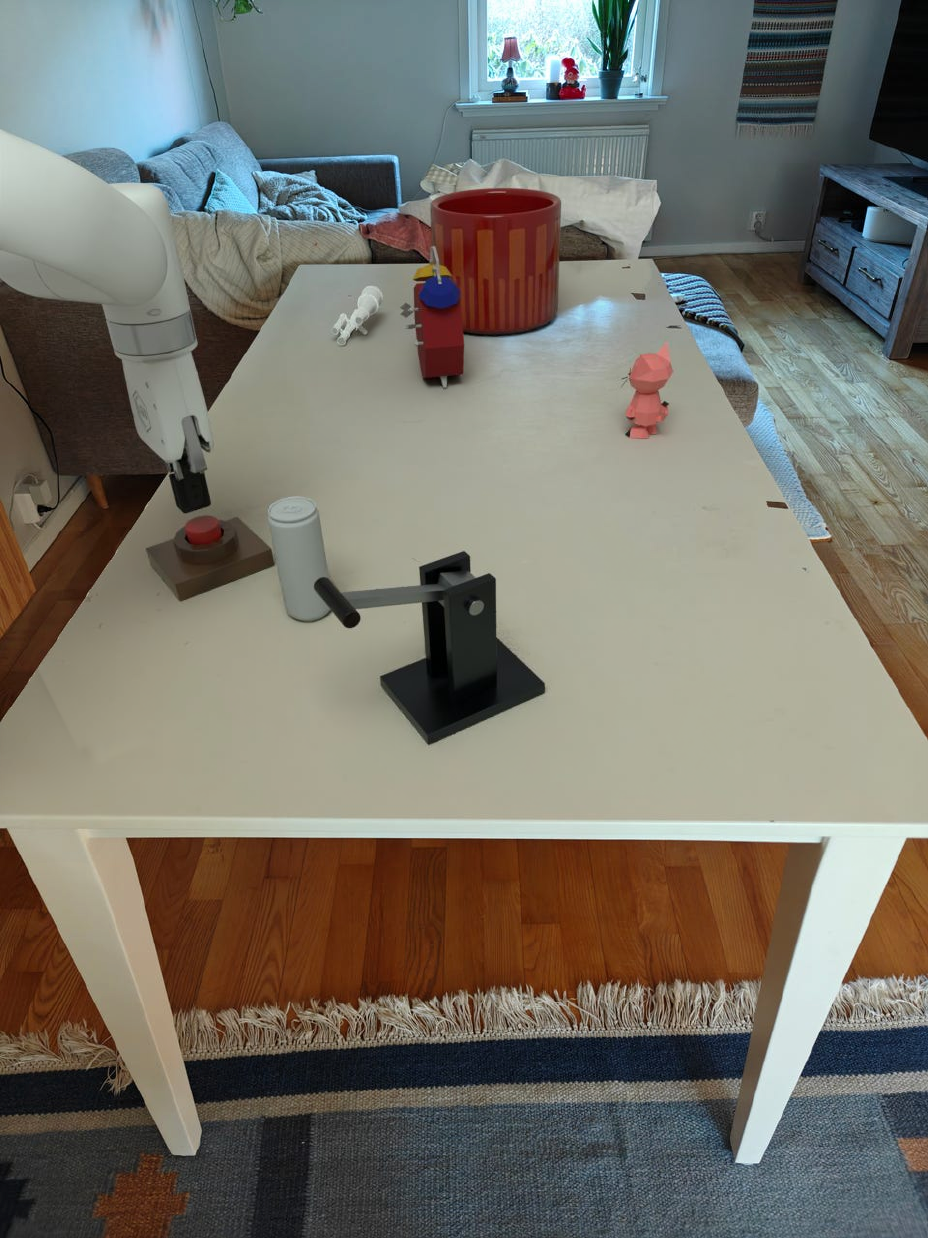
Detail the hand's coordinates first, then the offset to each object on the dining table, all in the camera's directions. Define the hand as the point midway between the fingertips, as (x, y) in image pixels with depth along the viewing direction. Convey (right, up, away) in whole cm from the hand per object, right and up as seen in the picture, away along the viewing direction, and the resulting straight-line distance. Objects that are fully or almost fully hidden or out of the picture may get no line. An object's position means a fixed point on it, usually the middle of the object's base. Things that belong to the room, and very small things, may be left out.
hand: (194, 506), depth 90 cm
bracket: (+28, -18, -13) cm, 36 cm away
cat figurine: (+54, +14, +29) cm, 62 cm away
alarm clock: (+24, +27, +48) cm, 60 cm away
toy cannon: (+9, +40, +66) cm, 78 cm away
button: (0, -3, +3) cm, 4 cm away
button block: (0, -6, +5) cm, 8 cm away
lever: (+23, -11, -22) cm, 34 cm away
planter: (+35, +45, +71) cm, 90 cm away
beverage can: (+13, -11, -2) cm, 17 cm away
